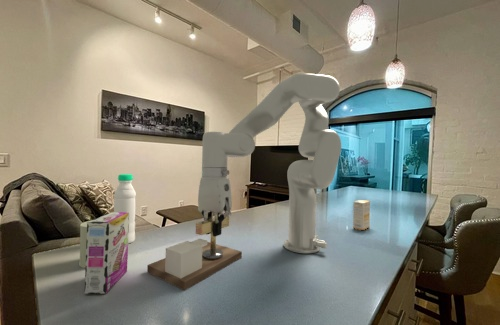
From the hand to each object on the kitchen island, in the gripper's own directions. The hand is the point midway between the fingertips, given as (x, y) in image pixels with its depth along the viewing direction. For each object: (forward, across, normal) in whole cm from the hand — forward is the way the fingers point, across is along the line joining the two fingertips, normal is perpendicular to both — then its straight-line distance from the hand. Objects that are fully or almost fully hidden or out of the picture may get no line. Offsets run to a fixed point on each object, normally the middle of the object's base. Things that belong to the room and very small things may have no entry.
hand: (213, 233), depth 70 cm
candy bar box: (+9, +13, +24) cm, 28 cm away
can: (+9, +28, +20) cm, 35 cm away
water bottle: (+9, +38, +6) cm, 40 cm away
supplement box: (+9, -31, -70) cm, 77 cm away
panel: (+9, +2, +4) cm, 10 cm away
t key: (+7, 0, 0) cm, 7 cm away
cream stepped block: (+7, 0, +9) cm, 11 cm away
